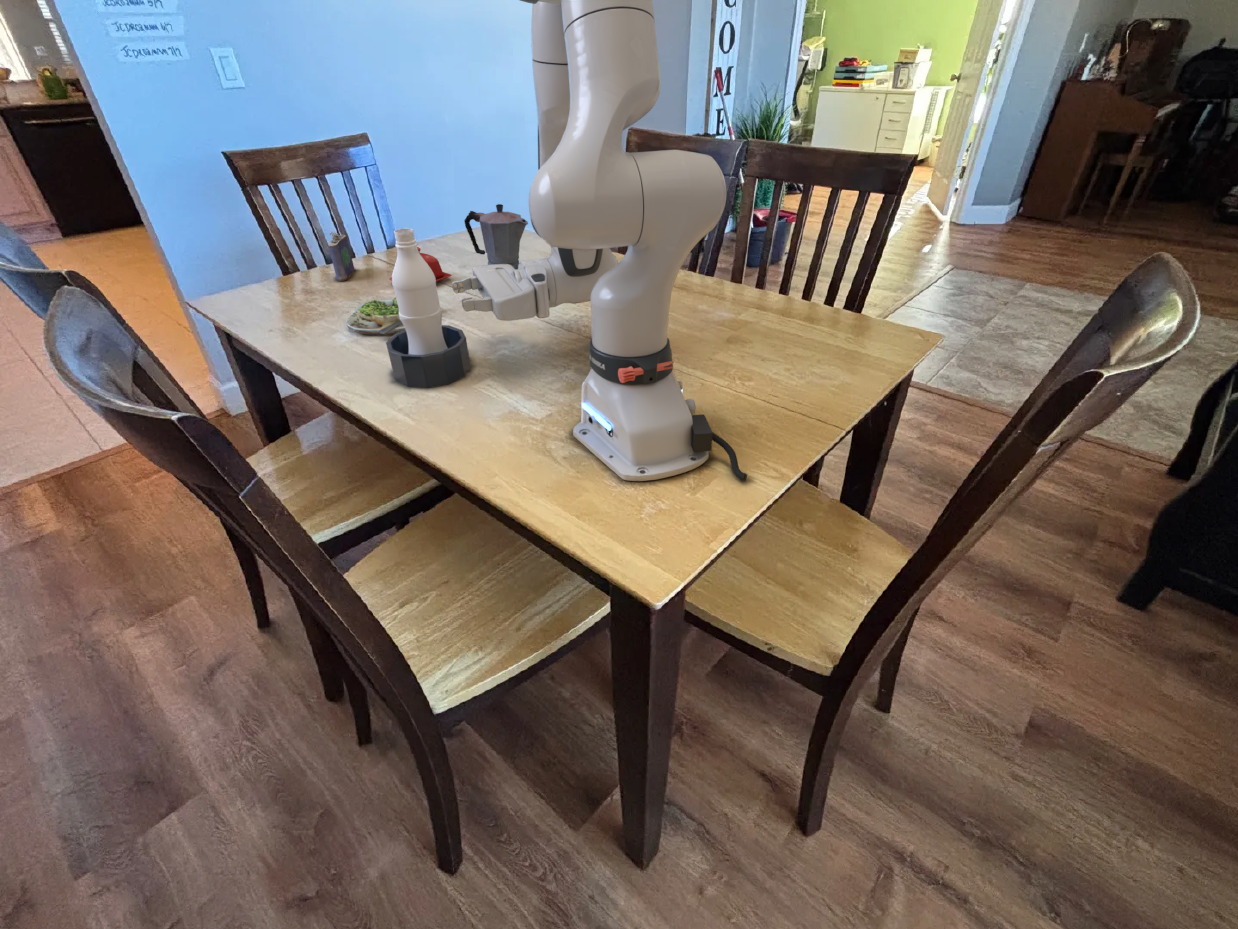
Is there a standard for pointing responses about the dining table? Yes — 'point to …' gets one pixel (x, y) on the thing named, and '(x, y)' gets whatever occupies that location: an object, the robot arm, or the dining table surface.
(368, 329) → the avocado toast plate
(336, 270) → the flask
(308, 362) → the dining table surface
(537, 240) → the dining table surface
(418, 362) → the dark grey faceted ring
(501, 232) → the moka pot
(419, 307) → the water bottle
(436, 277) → the butter dish
